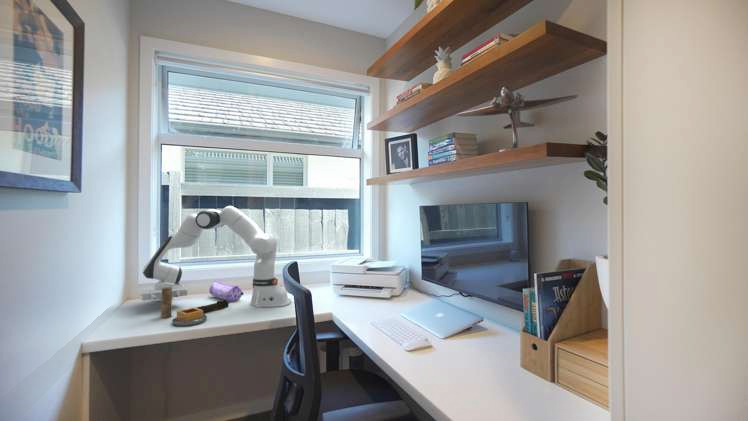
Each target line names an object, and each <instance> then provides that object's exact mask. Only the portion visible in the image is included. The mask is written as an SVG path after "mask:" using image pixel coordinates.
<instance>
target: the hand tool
mask: <svg viewBox="0 0 748 421" xmlns="http://www.w3.org/2000/svg"><path fill="white" fill-rule="evenodd" d="M228 307H229V301H227V300H226V299H221V300H220V299H219V300H217V301H216V302H214V303H210V304H207V305H206V304H205V305H201V306H197V307H195V308H198V309H201V310H203V313H208V312H211V311H215V310H219V311H220V310H223V309H226V308H228Z"/></svg>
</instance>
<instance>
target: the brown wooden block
mask: <svg viewBox="0 0 748 421" xmlns="http://www.w3.org/2000/svg"><path fill="white" fill-rule="evenodd" d="M172 301H173V298H172V287H163V288H162V300H161V302H160V303H161V308H160V311H161V312H160V315H161V316H160V318H161V319H166V318H167V319H168V318H172V311H173V310H172V307H173V304H172V303H173V302H172Z"/></svg>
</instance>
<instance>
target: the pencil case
mask: <svg viewBox="0 0 748 421" xmlns="http://www.w3.org/2000/svg"><path fill="white" fill-rule="evenodd" d="M209 294H210V296H213V297H216V298H218V299H219V300H220V299H221V300H224V299H226V300H227V301H228V302H232V303H234V302H238V301H239V300H240V299H241V297H242V296H244V292H243V291H242V289H241V288H240V287H239V285H228V284H224V283H222V282H220V281H219V280H214V282H213V283H211V284H210V287H209Z"/></svg>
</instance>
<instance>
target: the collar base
mask: <svg viewBox="0 0 748 421" xmlns="http://www.w3.org/2000/svg"><path fill="white" fill-rule="evenodd" d="M207 319H208V316H207V315H206V314H204V312H203V310H201V309H198V308H196V307H191V308H186V309H182V310H177V311H176V317H175V318H173V319H172V321H171V322H172V323H171V324H172V326H174V327H178V328H179V327H182V328H185V327H187V328H188V327H192V326H198V325H202V324H203V323H205V322H206V321H207Z"/></svg>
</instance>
